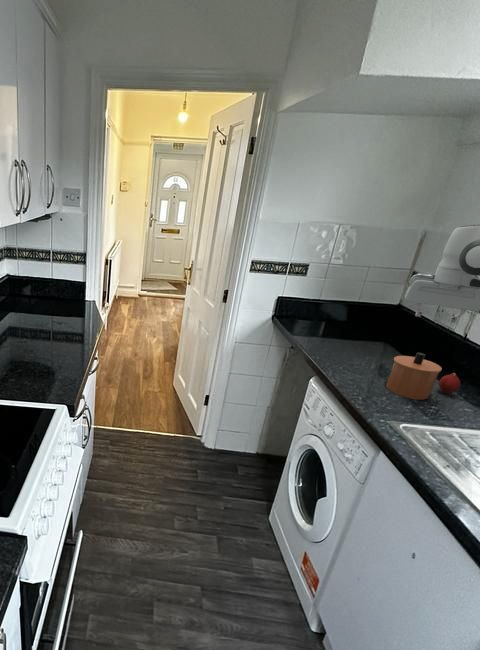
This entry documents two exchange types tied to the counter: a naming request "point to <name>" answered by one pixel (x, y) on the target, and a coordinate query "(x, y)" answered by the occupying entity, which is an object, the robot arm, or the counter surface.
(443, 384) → the onion
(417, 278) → the robot arm
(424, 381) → the pot
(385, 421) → the counter surface
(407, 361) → the lid
